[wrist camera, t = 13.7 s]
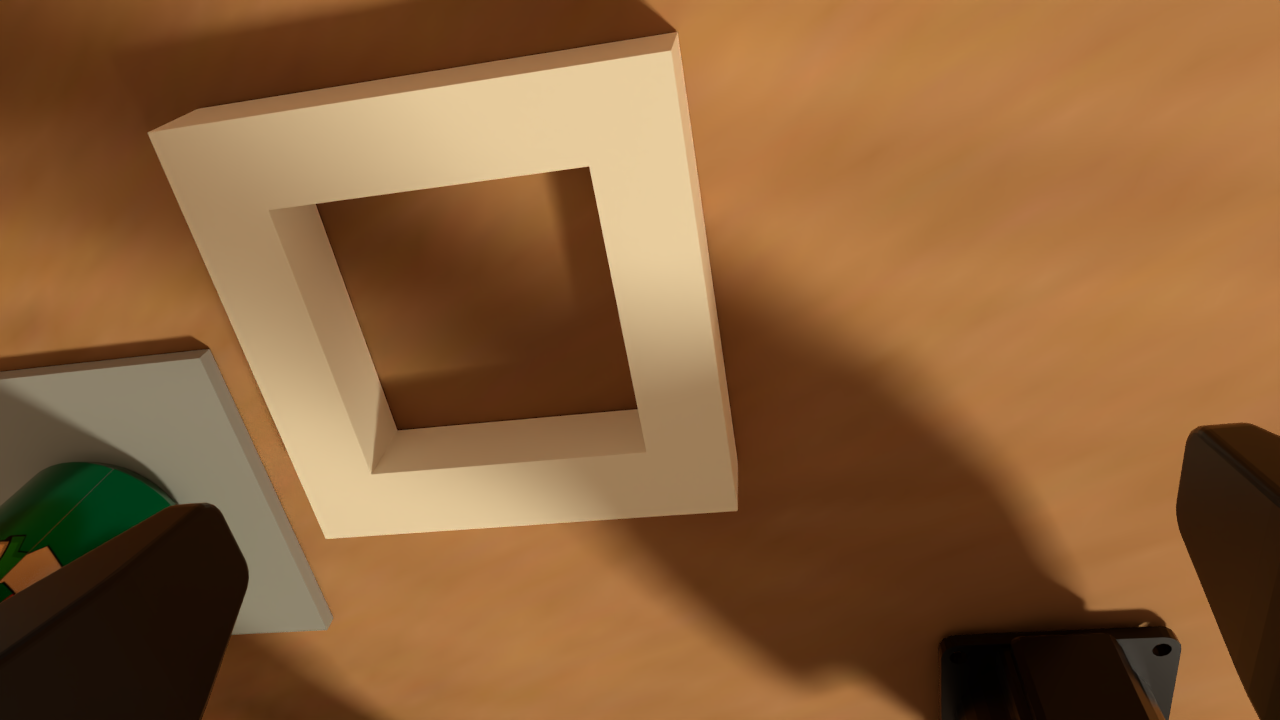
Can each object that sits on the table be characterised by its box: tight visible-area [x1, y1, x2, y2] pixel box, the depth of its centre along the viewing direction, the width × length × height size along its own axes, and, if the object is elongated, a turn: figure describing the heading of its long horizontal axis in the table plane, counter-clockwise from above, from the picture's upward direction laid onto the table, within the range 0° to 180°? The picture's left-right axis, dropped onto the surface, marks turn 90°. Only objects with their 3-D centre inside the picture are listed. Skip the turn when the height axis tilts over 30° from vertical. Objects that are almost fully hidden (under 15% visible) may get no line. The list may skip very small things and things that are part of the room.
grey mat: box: [0, 349, 333, 635], centre depth 27 cm, size 10×10×1 cm
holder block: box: [148, 32, 738, 539], centre depth 21 cm, size 11×11×2 cm
